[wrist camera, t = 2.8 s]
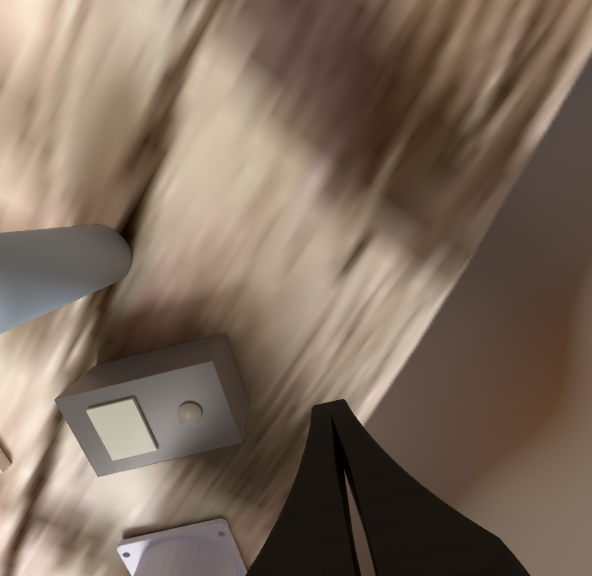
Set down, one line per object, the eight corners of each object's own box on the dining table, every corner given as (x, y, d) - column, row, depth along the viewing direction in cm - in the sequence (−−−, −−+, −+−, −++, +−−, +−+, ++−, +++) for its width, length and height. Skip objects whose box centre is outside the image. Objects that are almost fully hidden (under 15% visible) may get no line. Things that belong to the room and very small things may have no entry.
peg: (140, 276, 16) (11, 339, 8) (85, 289, 16) (-94, 364, 8) (117, 217, 15) (-51, 229, 7) (58, 232, 15) (-167, 257, 7)
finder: (249, 400, 18) (241, 445, 15) (131, 428, 19) (96, 479, 15) (226, 330, 17) (211, 362, 14) (98, 362, 17) (51, 401, 14)
